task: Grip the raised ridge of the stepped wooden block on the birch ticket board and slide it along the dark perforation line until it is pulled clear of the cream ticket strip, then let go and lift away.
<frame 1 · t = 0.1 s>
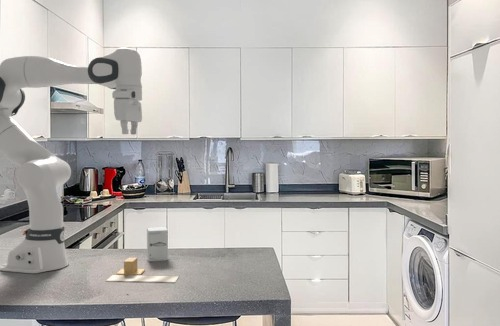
hand: (129, 134, 164), 48 cm above the counter, fingers open, 8 cm apart
stepped wooden block: (130, 266, 155), point 4 cm above the counter, slide at 0.0 cm
ticket board: (145, 280, 152), on the counter
supplement box: (157, 262, 175), on the counter
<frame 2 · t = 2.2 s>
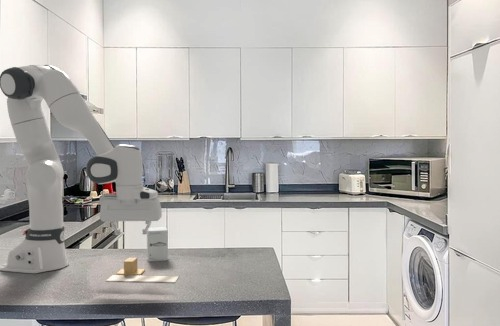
hand: (131, 234, 155), 14 cm above the counter, fingers open, 8 cm apart
nothing on the counter moved.
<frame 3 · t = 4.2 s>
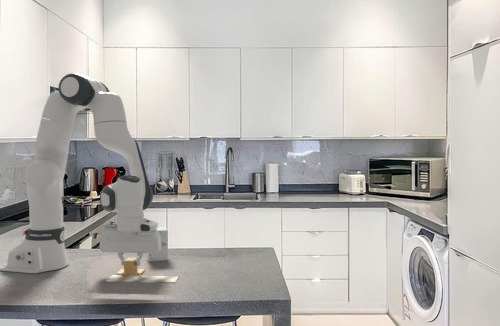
hand: (130, 265, 155), 4 cm above the counter, fingers closed on stepped wooden block, 3 cm apart
stepped wooden block: (130, 266, 155), point 4 cm above the counter, slide at 0.0 cm, touching gripper
everything else where it was.
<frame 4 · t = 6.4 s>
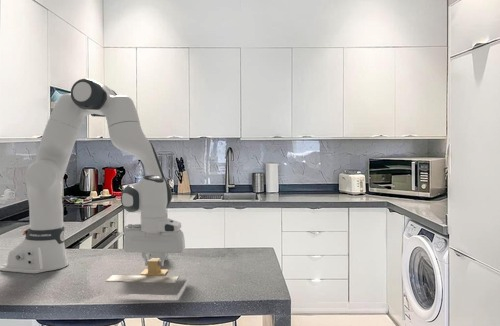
hand: (154, 265, 155), 4 cm above the counter, fingers closed on stepped wooden block, 3 cm apart
stepped wooden block: (154, 266, 155), point 4 cm above the counter, slide at 8.0 cm, touching gripper
everything else where it was.
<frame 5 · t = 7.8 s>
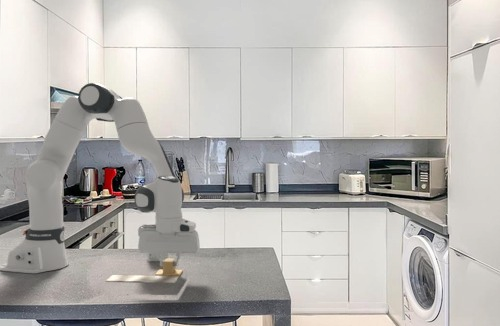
hand: (169, 265, 155), 4 cm above the counter, fingers closed on stepped wooden block, 3 cm apart
stepped wooden block: (169, 266, 155), point 4 cm above the counter, slide at 13.0 cm, touching gripper
everything else where it was.
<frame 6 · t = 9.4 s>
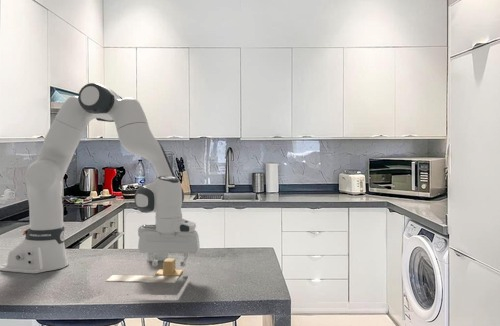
hand: (169, 266, 155), 4 cm above the counter, fingers open, 8 cm apart
stepped wooden block: (169, 266, 155), point 4 cm above the counter, slide at 13.0 cm
everything else where it was.
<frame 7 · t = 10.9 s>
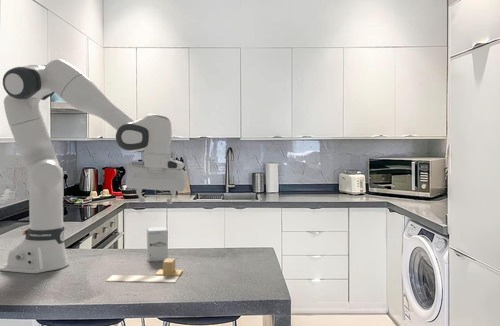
hand: (155, 203, 157), 25 cm above the counter, fingers open, 8 cm apart
nothing on the counter moved.
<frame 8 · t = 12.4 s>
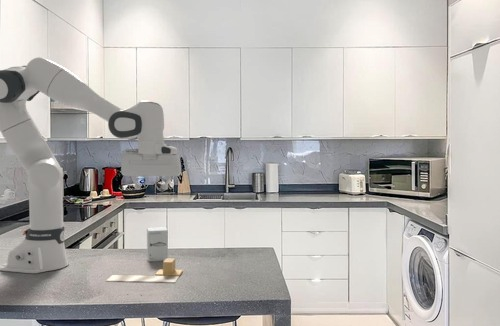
hand: (151, 189, 158), 29 cm above the counter, fingers open, 8 cm apart
nothing on the counter moved.
at the end: stepped wooden block slide at 13.0 cm; supplement box moved 0.2 cm from its start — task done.
